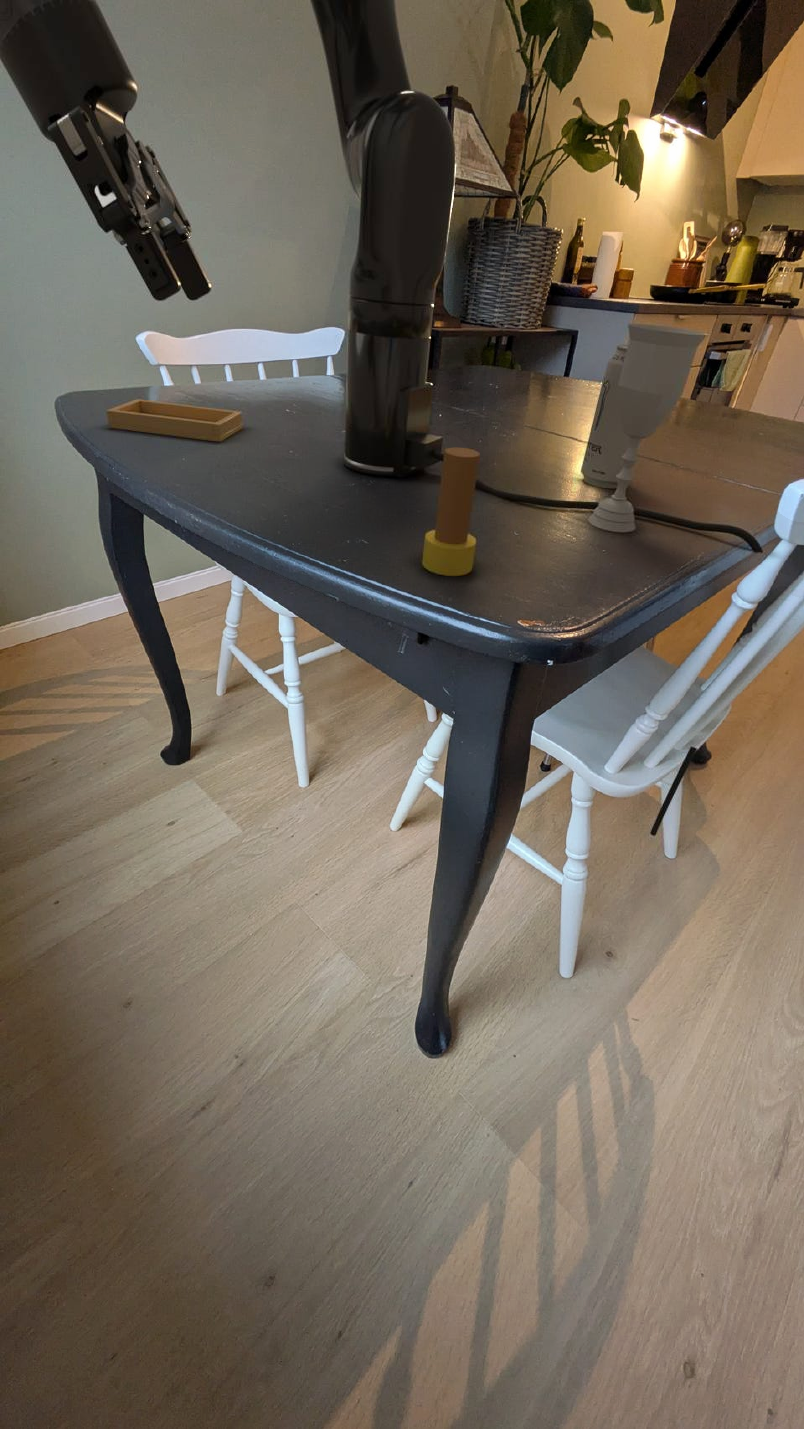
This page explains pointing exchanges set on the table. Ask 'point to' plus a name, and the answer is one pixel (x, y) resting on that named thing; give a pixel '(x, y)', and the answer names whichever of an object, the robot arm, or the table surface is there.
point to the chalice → (646, 403)
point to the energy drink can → (607, 430)
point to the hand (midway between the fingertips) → (187, 296)
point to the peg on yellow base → (453, 516)
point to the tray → (175, 420)
